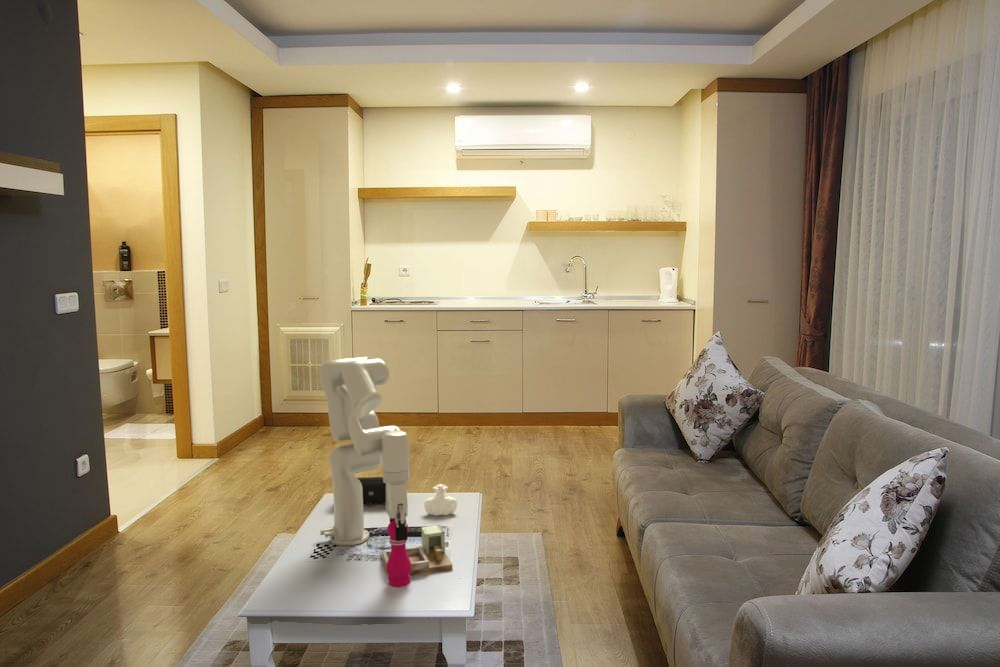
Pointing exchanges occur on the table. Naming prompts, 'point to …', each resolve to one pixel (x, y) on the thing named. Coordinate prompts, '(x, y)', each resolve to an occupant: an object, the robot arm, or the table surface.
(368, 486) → the portable speaker
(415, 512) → the table surface
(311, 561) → the table surface
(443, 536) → the block
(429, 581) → the table surface
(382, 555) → the stand
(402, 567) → the pepper mill
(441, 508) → the bust
